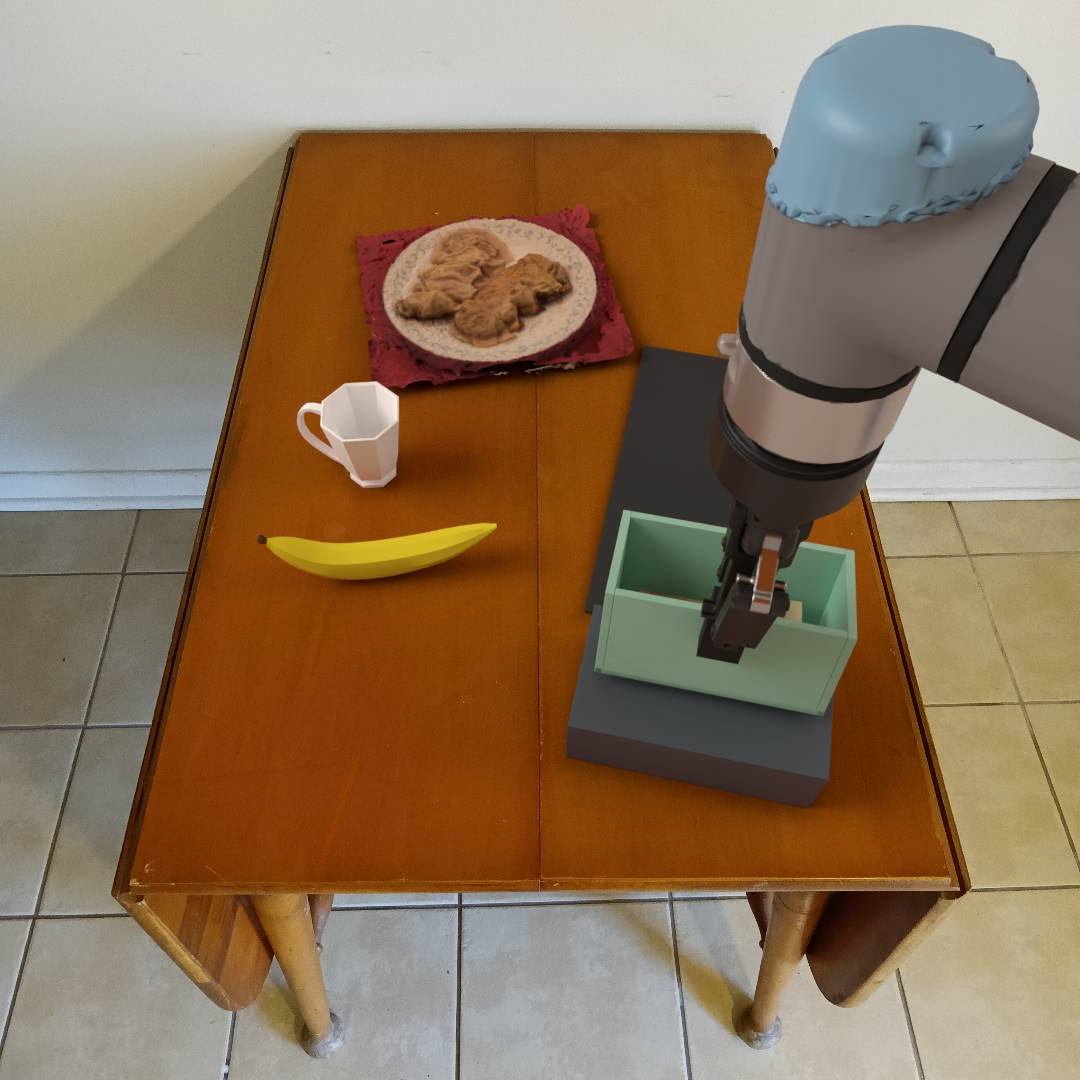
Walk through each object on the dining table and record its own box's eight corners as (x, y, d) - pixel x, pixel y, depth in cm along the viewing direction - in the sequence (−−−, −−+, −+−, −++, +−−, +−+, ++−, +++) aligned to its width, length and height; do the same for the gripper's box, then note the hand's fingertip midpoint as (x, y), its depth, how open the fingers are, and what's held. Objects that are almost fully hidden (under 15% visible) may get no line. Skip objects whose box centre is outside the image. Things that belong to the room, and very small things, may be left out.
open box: (823, 629, 71) (854, 550, 65) (822, 716, 65) (857, 639, 59) (611, 589, 73) (623, 509, 67) (594, 671, 67) (605, 592, 61)
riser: (816, 685, 74) (836, 650, 69) (808, 808, 69) (829, 780, 64) (590, 640, 77) (594, 604, 72) (565, 756, 71) (567, 725, 66)
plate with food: (635, 366, 94) (639, 340, 91) (374, 396, 91) (369, 370, 88) (585, 216, 107) (587, 189, 104) (356, 237, 104) (351, 211, 101)
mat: (784, 369, 93) (785, 367, 93) (755, 645, 76) (755, 643, 76) (643, 347, 95) (644, 345, 95) (584, 612, 78) (584, 610, 78)
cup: (394, 509, 84) (382, 451, 77) (291, 481, 85) (270, 422, 79) (424, 450, 88) (414, 390, 81) (324, 424, 89) (307, 364, 82)
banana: (501, 572, 80) (499, 529, 75) (274, 595, 79) (255, 553, 74) (498, 543, 82) (495, 500, 77) (275, 565, 81) (257, 523, 75)
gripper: (734, 294, 46) (674, 557, 66) (702, 507, 39) (646, 731, 59) (892, 318, 45) (783, 577, 65) (889, 540, 38) (768, 756, 58)
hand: (718, 650), depth 62 cm, fingers closed
